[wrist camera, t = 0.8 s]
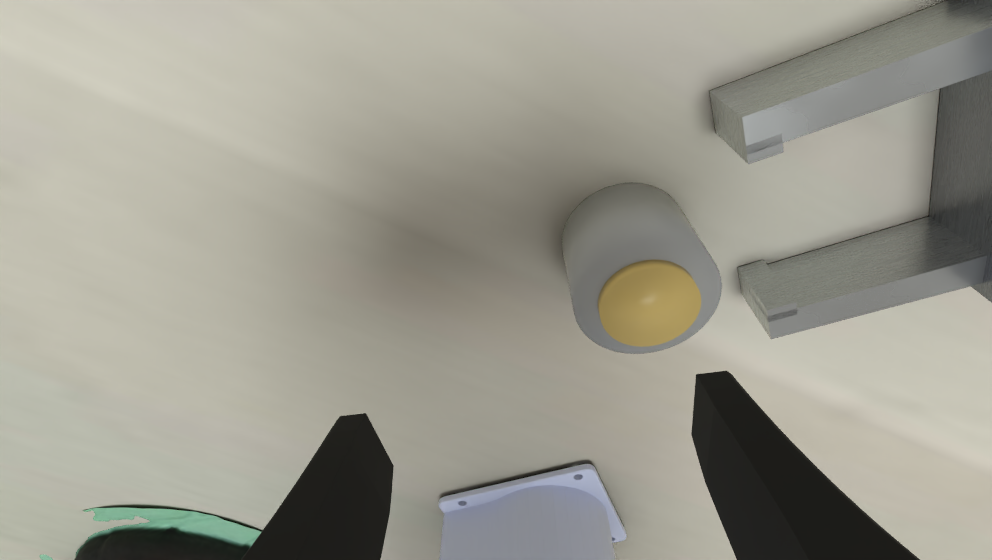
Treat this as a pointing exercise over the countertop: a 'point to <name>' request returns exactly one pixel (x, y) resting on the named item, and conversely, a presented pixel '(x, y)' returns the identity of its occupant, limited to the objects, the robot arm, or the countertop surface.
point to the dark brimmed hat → (166, 537)
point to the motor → (855, 92)
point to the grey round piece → (637, 270)
